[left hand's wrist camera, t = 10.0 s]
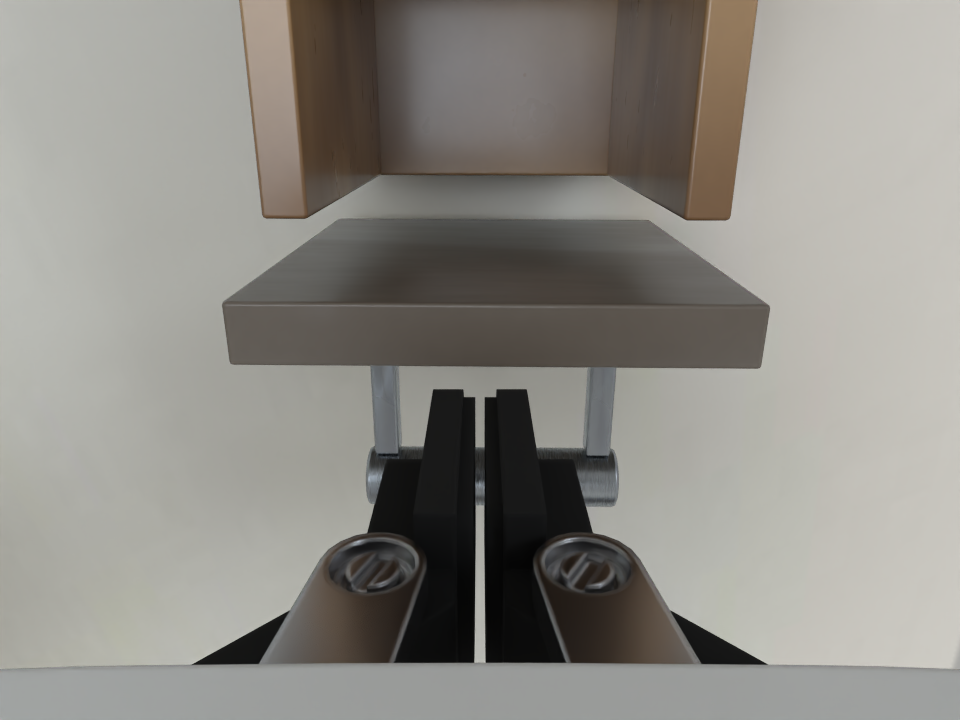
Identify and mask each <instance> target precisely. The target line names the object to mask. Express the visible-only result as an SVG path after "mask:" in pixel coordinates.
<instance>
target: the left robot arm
mask: <svg viewBox="0 0 960 720" xmlns="http://www.w3.org/2000/svg"><path fill="white" fill-rule="evenodd" d="M475 546H476V504H475V397H464V392H463V389H433V394H432V400H431V406H430V413H429V419H428V425H427V431H426V437H425V443H424V450H423V456H422V459H387V461H386V463H385V467H384V471H383V475H382V479H381V482H380V486H379V490H378V494H377V498H376V502H375V505H374V509H373V513H372V517H371V521H370V525H369V528H368V532H367V533H366V534H361V535H356V536H353V537H350V538H348V539H345V540H343V541H340V542H339V543H337V544H336V545H334V546H333V547H331V548H330V549H329V550H328V551H327V552H326V553H325V554H324V555H323V557H322V558H321V559H320V560H319V562H318V564H317V566H316V567H315V569H314V571H313V572H312V574H311V576H310V578H309V579H308V581H307V583H306V584H305V586H304V588H303V589H302V591H301V593H300V595H299V596H298V598H297V600H296V601H295V603H294V605H293V606H292V608H291V610H290V611H288V612H286V613H284V614H282V615H281V616H279V617H277V618H275V619H273V620H272V621H270V622H268V623H266V624H264V625H263V626H261V627H259V628H257V629H255V630H254V631H252V632H250V633H248V634H246V635H245V636H243V637H241V638H239V639H237V640H235V641H234V642H232V643H230V644H228V645H226V646H225V647H223V648H221V649H219V650H217V651H216V652H214V653H212V654H210V655H208V656H207V657H205V658H203V659H201V660H199V661H198V662H196V663H194V664H192V665H145V666H75V667H47V668H20V669H0V720H960V669H940V668H913V667H885V666H831V665H768V664H766V663H764V662H762V661H761V660H759V659H757V658H755V657H753V656H752V655H750V654H748V653H746V652H744V651H743V650H741V649H739V648H737V647H735V646H734V645H732V644H730V643H728V642H726V641H725V640H723V639H721V638H719V637H717V636H715V635H714V634H712V633H710V632H708V631H706V630H705V629H703V628H701V627H699V626H697V625H696V624H694V623H692V622H690V621H688V620H687V619H685V618H683V617H681V616H679V615H678V614H676V613H674V612H672V611H670V610H669V608H668V606H667V605H666V603H665V601H664V600H663V598H662V596H661V595H660V593H659V591H658V589H657V588H656V586H655V584H654V583H653V581H652V579H651V578H650V576H649V574H648V572H647V571H646V569H645V567H644V566H643V564H642V562H641V560H640V559H639V558H638V557H637V555H636V554H635V553H634V552H633V551H632V550H631V549H630V548H629V547H627V546H626V545H624V544H623V543H621V542H620V541H617V540H615V539H612V538H610V537H607V536H604V535H599V534H594V533H593V532H592V528H591V525H590V521H589V517H588V513H587V509H586V505H585V502H584V498H583V494H582V490H581V486H580V482H579V479H578V475H577V471H576V467H575V463H574V461H573V459H538V456H537V450H536V443H535V437H534V431H533V425H532V419H531V413H530V406H529V400H528V394H527V389H497V392H496V397H485V503H484V546H485V645H486V663H474V645H475Z"/></svg>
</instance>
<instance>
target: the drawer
mask: <svg viewBox="0 0 960 720" xmlns="http://www.w3.org/2000/svg"><path fill="white" fill-rule="evenodd" d="M239 3H240V12H241V21H242V31H243V40H244V49H245V59H246V68H247V77H248V87H249V96H250V105H251V115H252V124H253V133H254V143H255V152H256V161H257V170H258V180H259V189H260V198H261V208H262V215H263V217H264V218H269V219H305V218H308V217H309V216H311V215H313V214H315V213H316V212H318V211H320V210H321V209H323V208H325V207H326V206H328V205H330V204H332V203H333V202H335V201H337V200H338V199H340V198H342V197H343V196H345V195H347V194H349V193H350V192H352V191H354V190H355V189H357V188H359V187H361V186H362V185H364V184H366V183H367V182H369V181H371V180H372V179H374V178H376V177H378V176H379V175H542V176H610V177H612V178H613V179H615V180H617V181H619V182H620V183H622V184H624V185H626V186H627V187H629V188H631V189H633V190H634V191H636V192H638V193H640V194H641V195H643V196H645V197H647V198H648V199H650V200H652V201H654V202H655V203H657V204H659V205H661V206H662V207H664V208H666V209H668V210H669V211H671V212H673V213H675V214H676V215H678V216H680V217H682V218H683V219H685V220H728V219H729V218H730V216H731V208H732V200H733V193H734V185H735V177H736V169H737V161H738V153H739V146H740V138H741V130H742V122H743V114H744V106H745V99H746V91H747V83H748V75H749V67H750V59H751V51H752V44H753V36H754V28H755V20H756V12H757V4H758V0H239ZM222 307H223V314H224V322H225V329H226V337H227V344H228V352H229V359H230V363H231V364H234V365H355V366H371V384H372V401H373V419H374V436H375V446H374V447H372V448H371V450H370V452H369V455H368V460H367V468H366V491H367V497H368V500H369V502H370V503H371V504H375V502H376V498H377V494H378V490H379V486H380V482H381V479H382V475H383V471H384V467H385V463H386V461H387V459H422V456H423V450H424V447H405V446H401V444H402V437H401V414H400V390H399V366H484V367H588V371H587V387H586V404H585V420H584V437H583V447H584V448H536V450H537V456H538V459H573V461H574V463H575V467H576V471H577V475H578V479H579V482H580V486H581V490H582V494H583V498H584V502H585V505H586V507H612V506H614V505H615V504H616V501H617V497H618V489H619V473H618V463H617V458H616V454H615V452H614V450H613V449H610V443H611V430H612V417H613V404H614V391H615V377H616V368H742V369H758V368H760V367H761V363H762V357H763V350H764V344H765V337H766V331H767V324H768V318H769V311H770V307H769V305H768V304H766V303H765V302H764V301H762V300H761V299H759V298H758V297H757V296H755V295H754V294H752V293H751V292H749V291H748V290H747V289H745V288H744V287H742V286H741V285H740V284H738V283H737V282H735V281H734V280H733V279H731V278H730V277H728V276H727V275H725V274H724V273H723V272H721V271H720V270H718V269H717V268H716V267H714V266H713V265H711V264H710V263H709V262H707V261H706V260H704V259H703V258H701V257H700V256H699V255H697V254H696V253H694V252H693V251H692V250H690V249H689V248H687V247H686V246H685V245H683V244H682V243H680V242H679V241H677V240H676V239H675V238H673V237H672V236H670V235H669V234H668V233H666V232H665V231H663V230H662V229H661V228H659V227H658V226H656V225H655V224H653V223H652V222H651V221H649V220H488V219H338V220H337V221H335V222H334V223H333V224H331V225H330V226H328V227H327V228H326V229H324V230H323V231H321V232H320V233H319V234H317V235H316V236H314V237H313V238H312V239H310V240H309V241H307V242H306V243H305V244H303V245H302V246H301V247H299V248H298V249H296V250H295V251H294V252H292V253H291V254H289V255H288V256H287V257H285V258H284V259H282V260H281V261H280V262H278V263H277V264H275V265H274V266H273V267H271V268H270V269H268V270H267V271H266V272H264V273H263V274H261V275H260V276H259V277H257V278H256V279H254V280H253V281H252V282H250V283H249V284H247V285H246V286H245V287H243V288H242V289H240V290H239V291H238V292H236V293H235V294H233V295H232V296H231V297H229V298H228V299H226V300H225V301H224V302H223V304H222ZM484 503H485V447H475V504H476V505H484Z"/></svg>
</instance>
